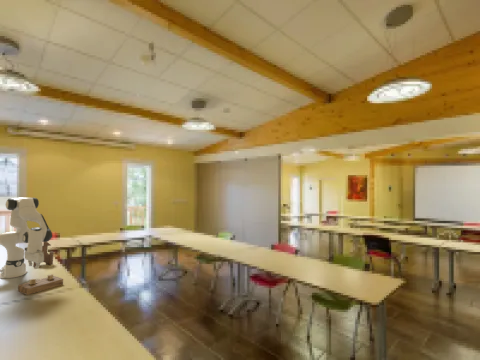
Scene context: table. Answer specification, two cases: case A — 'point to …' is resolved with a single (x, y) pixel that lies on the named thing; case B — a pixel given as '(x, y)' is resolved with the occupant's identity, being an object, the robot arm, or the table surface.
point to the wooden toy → (46, 255)
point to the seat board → (40, 285)
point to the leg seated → (50, 277)
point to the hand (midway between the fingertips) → (33, 266)
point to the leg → (32, 282)
